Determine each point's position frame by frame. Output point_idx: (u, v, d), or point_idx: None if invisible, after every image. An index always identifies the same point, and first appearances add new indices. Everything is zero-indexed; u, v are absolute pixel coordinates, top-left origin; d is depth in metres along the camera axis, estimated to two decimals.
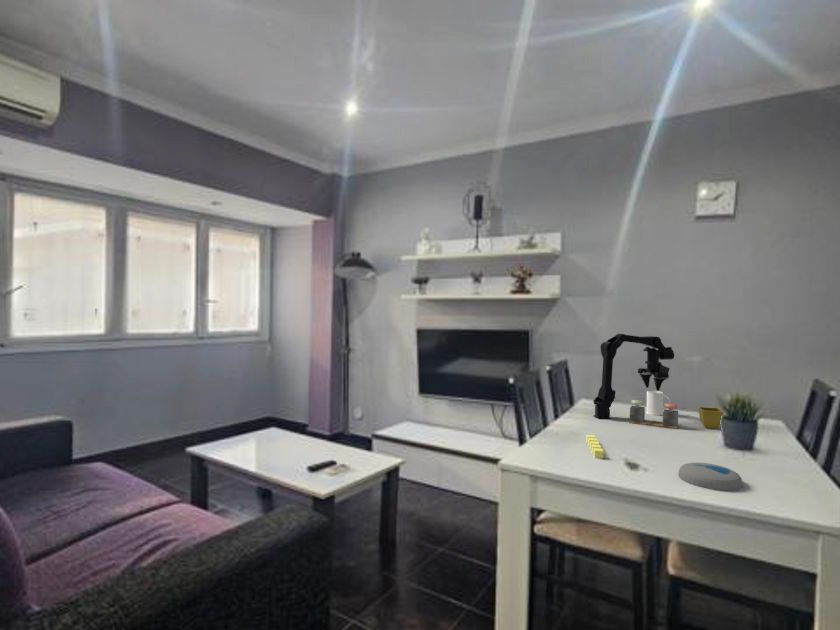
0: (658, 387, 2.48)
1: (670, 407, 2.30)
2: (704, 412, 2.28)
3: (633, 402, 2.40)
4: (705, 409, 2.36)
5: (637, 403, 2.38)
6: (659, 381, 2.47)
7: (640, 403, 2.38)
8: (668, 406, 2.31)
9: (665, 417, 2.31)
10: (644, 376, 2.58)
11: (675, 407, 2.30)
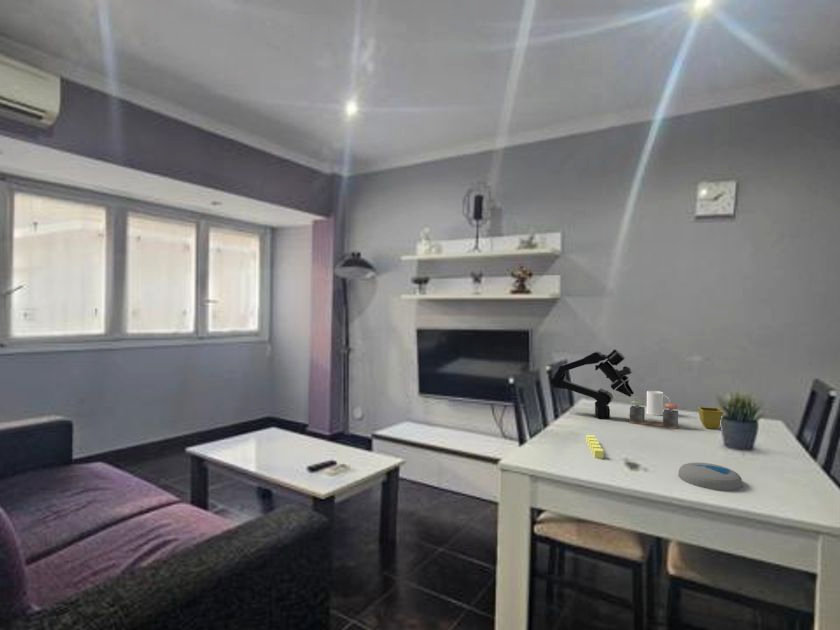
0: (627, 393, 2.39)
1: (670, 407, 2.30)
2: (704, 412, 2.28)
3: (633, 402, 2.40)
4: (705, 409, 2.36)
5: (637, 403, 2.38)
6: (623, 388, 2.40)
7: (640, 403, 2.38)
8: (668, 406, 2.31)
9: (665, 417, 2.31)
10: None
11: (675, 407, 2.30)
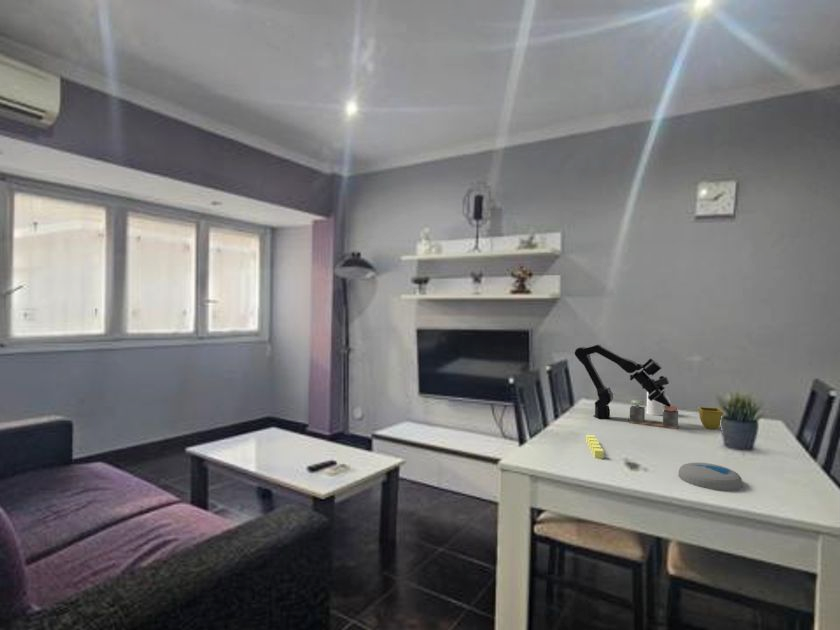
0: (666, 403, 2.33)
1: (670, 409, 2.30)
2: (704, 412, 2.28)
3: (633, 402, 2.40)
4: (705, 409, 2.36)
5: (637, 403, 2.38)
6: (661, 398, 2.33)
7: (640, 403, 2.38)
8: (668, 408, 2.31)
9: (665, 417, 2.31)
10: None
11: (675, 409, 2.30)
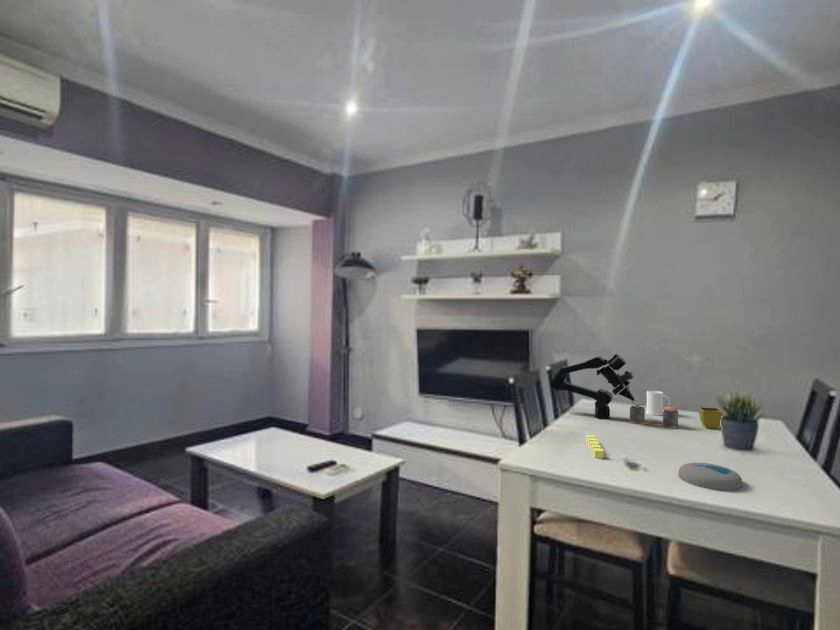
0: (630, 397, 2.41)
1: (670, 410, 2.30)
2: (704, 412, 2.28)
3: (633, 402, 2.40)
4: (705, 409, 2.36)
5: (637, 403, 2.38)
6: (626, 392, 2.42)
7: (640, 403, 2.38)
8: (668, 409, 2.31)
9: (665, 417, 2.31)
10: None
11: (675, 410, 2.30)
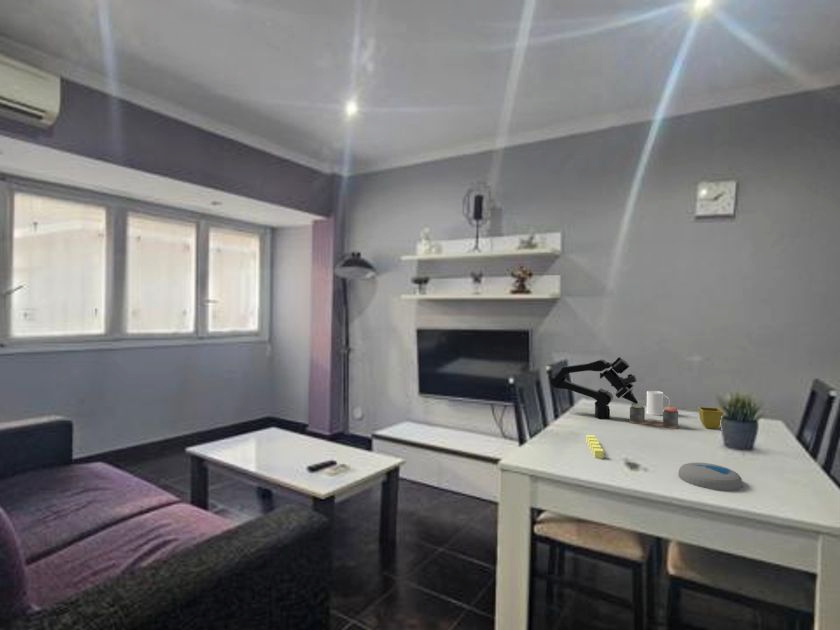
0: (634, 400, 2.41)
1: (670, 410, 2.30)
2: (704, 412, 2.28)
3: (633, 405, 2.40)
4: (705, 409, 2.36)
5: (637, 406, 2.38)
6: (629, 395, 2.41)
7: (640, 406, 2.38)
8: (668, 409, 2.31)
9: (665, 417, 2.31)
10: None
11: (675, 410, 2.30)
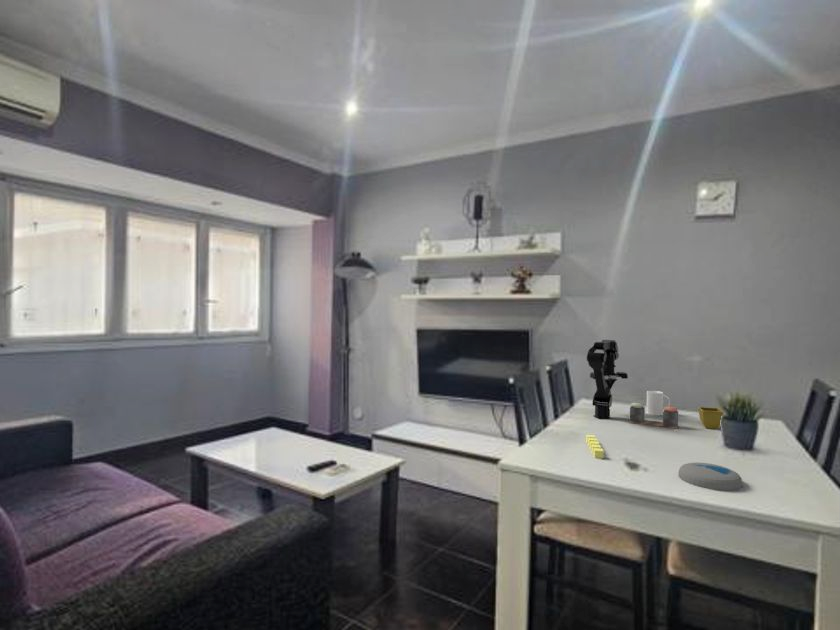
0: None
1: (670, 410, 2.30)
2: (704, 412, 2.28)
3: (633, 405, 2.40)
4: (705, 409, 2.36)
5: (637, 406, 2.38)
6: None
7: (640, 406, 2.38)
8: (668, 409, 2.31)
9: (665, 417, 2.31)
10: None
11: (675, 410, 2.30)
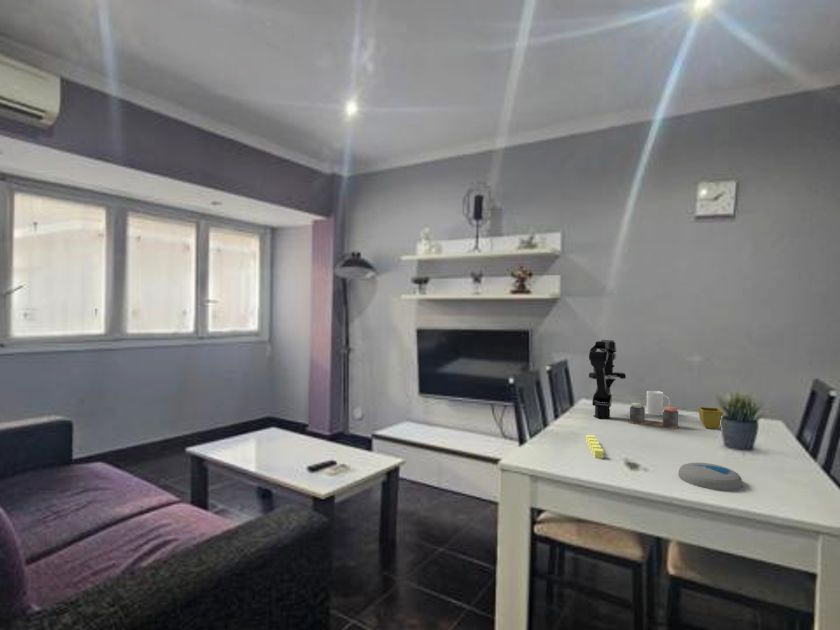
0: None
1: (670, 410, 2.30)
2: (704, 412, 2.28)
3: (633, 405, 2.40)
4: (705, 409, 2.36)
5: (637, 406, 2.38)
6: None
7: (640, 406, 2.38)
8: (668, 409, 2.31)
9: (665, 417, 2.31)
10: None
11: (675, 410, 2.30)
